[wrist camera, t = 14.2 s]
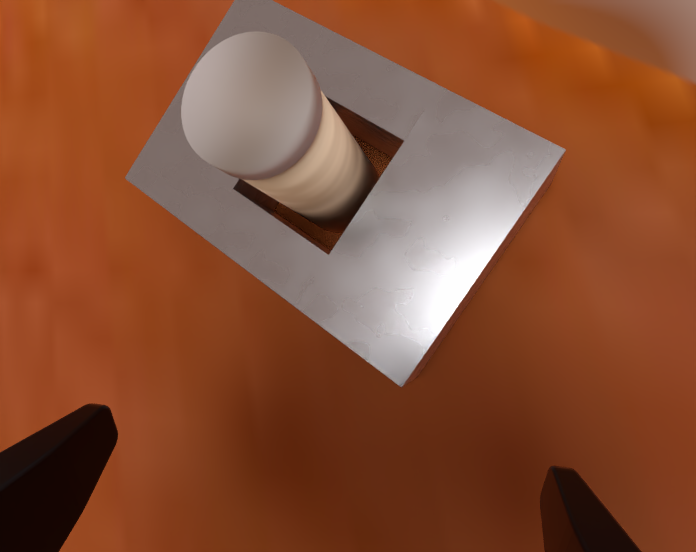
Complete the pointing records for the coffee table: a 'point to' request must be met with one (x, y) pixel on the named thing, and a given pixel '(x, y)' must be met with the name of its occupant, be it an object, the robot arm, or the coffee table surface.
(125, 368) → the coffee table surface
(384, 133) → the socket block
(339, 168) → the pin
